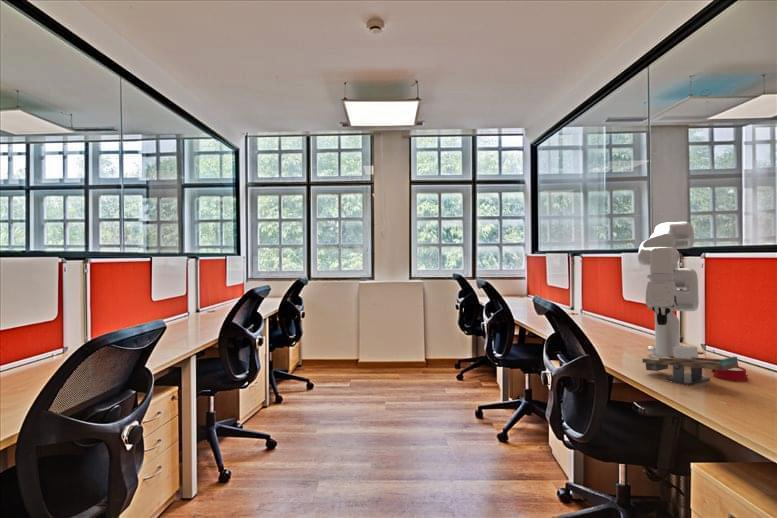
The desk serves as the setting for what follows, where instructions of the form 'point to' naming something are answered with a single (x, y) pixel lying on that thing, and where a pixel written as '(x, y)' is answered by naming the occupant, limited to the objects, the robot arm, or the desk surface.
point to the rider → (685, 353)
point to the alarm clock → (731, 374)
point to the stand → (687, 376)
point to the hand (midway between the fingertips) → (662, 324)
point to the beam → (689, 363)
